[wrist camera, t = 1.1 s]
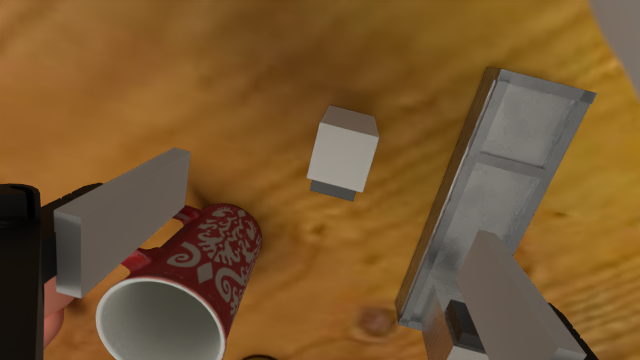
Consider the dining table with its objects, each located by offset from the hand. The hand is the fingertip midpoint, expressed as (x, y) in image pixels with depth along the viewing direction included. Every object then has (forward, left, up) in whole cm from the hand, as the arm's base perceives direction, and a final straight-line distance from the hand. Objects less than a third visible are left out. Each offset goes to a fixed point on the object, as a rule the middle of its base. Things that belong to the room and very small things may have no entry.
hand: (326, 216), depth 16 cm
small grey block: (0, 0, -17) cm, 17 cm away
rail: (+4, +13, -17) cm, 22 cm away
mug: (+12, -10, -17) cm, 23 cm away
